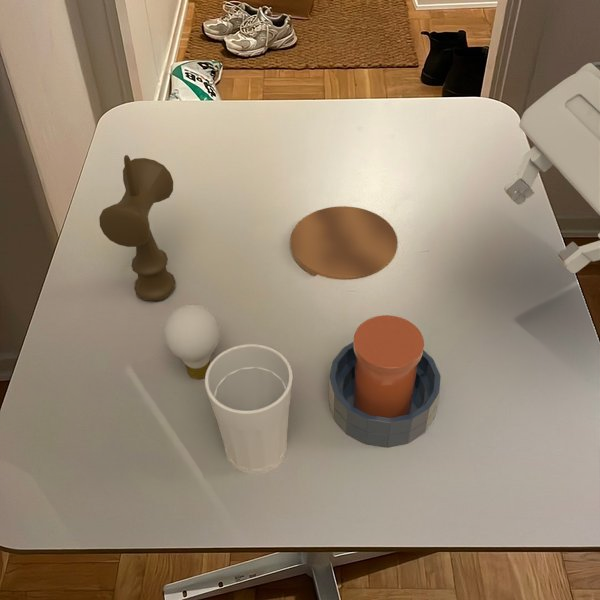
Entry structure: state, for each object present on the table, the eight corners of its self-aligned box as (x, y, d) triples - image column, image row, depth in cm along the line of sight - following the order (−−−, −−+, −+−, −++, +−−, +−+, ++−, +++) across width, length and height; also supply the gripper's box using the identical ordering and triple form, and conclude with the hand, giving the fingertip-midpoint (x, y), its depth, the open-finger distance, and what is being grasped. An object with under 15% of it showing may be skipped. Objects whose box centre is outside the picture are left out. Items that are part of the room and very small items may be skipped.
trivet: (353, 199, 104) (354, 193, 103) (419, 254, 96) (419, 248, 95) (270, 237, 99) (270, 231, 98) (331, 298, 90) (332, 292, 90)
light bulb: (235, 363, 84) (228, 302, 76) (209, 402, 80) (199, 342, 73) (190, 347, 85) (179, 286, 78) (163, 384, 82) (148, 324, 74)
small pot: (386, 367, 82) (393, 305, 75) (427, 408, 78) (438, 347, 71) (337, 395, 79) (339, 334, 72) (377, 439, 76) (383, 379, 68)
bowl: (389, 349, 85) (392, 320, 81) (456, 415, 78) (463, 387, 75) (309, 394, 80) (309, 365, 77) (373, 468, 74) (376, 441, 70)
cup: (202, 446, 76) (187, 373, 67) (263, 404, 80) (256, 330, 71) (249, 499, 72) (239, 429, 63) (311, 453, 75) (310, 380, 67)
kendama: (189, 265, 95) (166, 132, 81) (167, 320, 88) (139, 185, 74) (144, 260, 96) (114, 127, 81) (120, 314, 89) (82, 180, 75)
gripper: (584, 32, 64) (465, 147, 69) (747, 166, 50) (582, 296, 56) (614, 71, 68) (499, 177, 73) (772, 205, 54) (617, 323, 60)
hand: (536, 229), depth 64 cm, fingers open, 8 cm apart
